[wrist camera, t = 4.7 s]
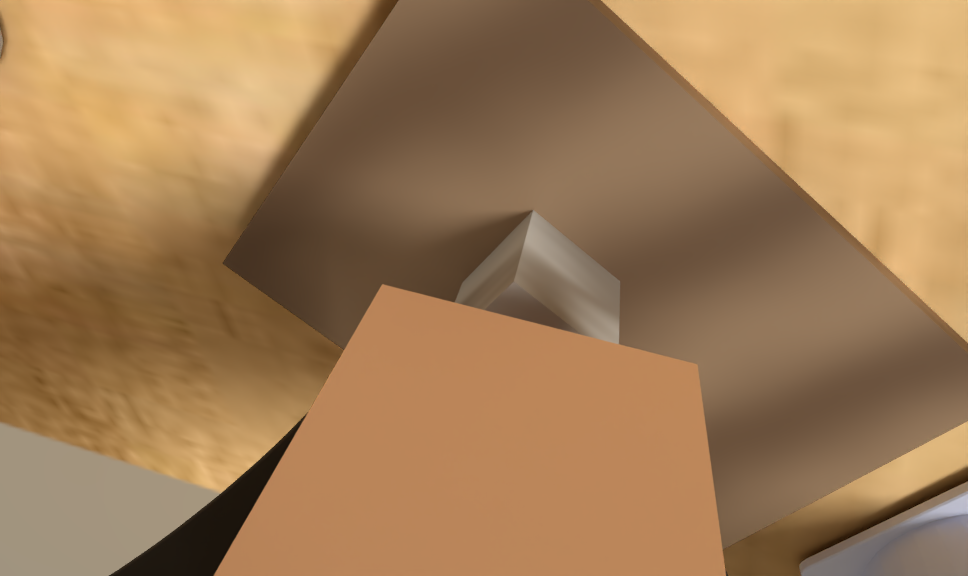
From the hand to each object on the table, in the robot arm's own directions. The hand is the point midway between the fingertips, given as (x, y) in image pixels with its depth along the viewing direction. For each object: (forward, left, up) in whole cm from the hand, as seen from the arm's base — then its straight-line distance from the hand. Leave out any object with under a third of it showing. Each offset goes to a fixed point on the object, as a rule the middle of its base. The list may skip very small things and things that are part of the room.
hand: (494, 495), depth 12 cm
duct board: (-2, 0, -9) cm, 9 cm away
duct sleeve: (0, 0, -1) cm, 1 cm away
